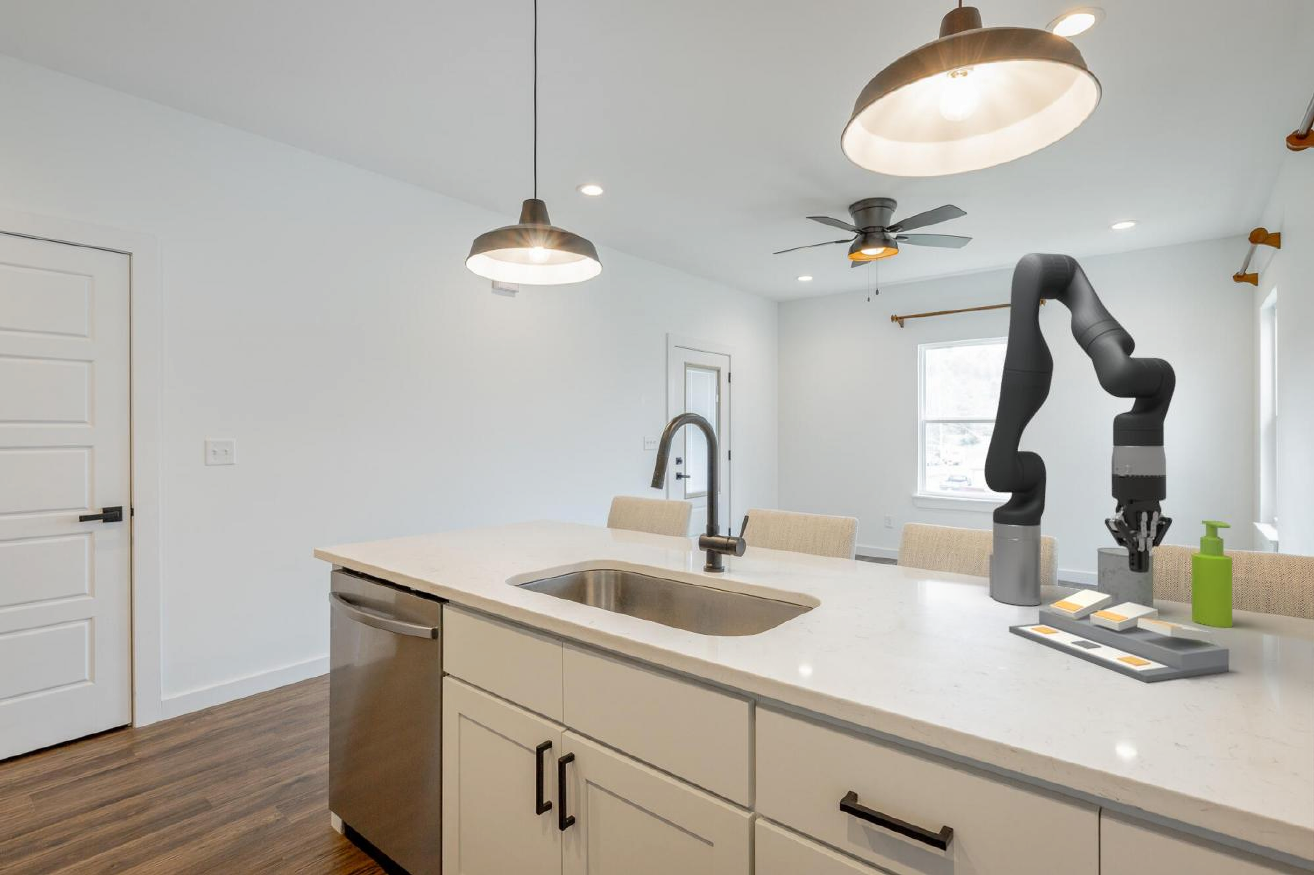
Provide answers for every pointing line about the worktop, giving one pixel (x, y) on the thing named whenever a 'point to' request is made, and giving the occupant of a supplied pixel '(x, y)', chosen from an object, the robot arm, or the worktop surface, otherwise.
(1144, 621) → the rocker right
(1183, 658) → the switch unit
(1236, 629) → the worktop surface
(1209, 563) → the soap dispenser
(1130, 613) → the rocker middle
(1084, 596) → the plate
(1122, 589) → the grey concrete cylinder
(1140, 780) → the worktop surface
